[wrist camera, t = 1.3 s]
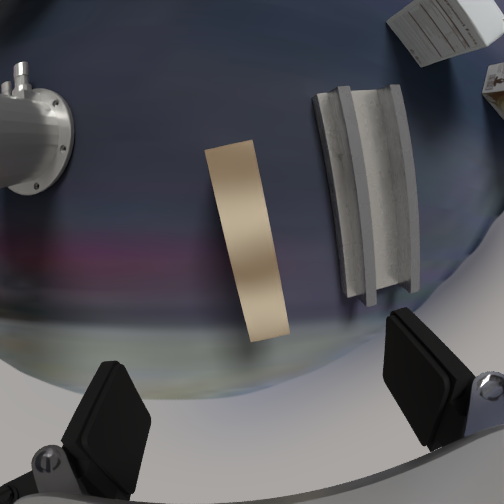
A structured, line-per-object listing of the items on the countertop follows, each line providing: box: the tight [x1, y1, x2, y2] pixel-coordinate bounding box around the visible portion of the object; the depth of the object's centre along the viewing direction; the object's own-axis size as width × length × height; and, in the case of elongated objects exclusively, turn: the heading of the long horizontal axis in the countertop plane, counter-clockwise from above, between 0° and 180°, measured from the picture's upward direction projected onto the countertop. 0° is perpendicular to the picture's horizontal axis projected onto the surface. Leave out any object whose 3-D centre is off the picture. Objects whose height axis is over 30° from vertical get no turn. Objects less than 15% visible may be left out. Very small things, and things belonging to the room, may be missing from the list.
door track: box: [312, 85, 420, 307], centre depth 29 cm, size 22×9×5 cm, turn 12°
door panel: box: [205, 140, 290, 342], centre depth 26 cm, size 14×3×12 cm, turn 12°
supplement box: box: [386, 0, 504, 68], centre depth 20 cm, size 7×7×13 cm
